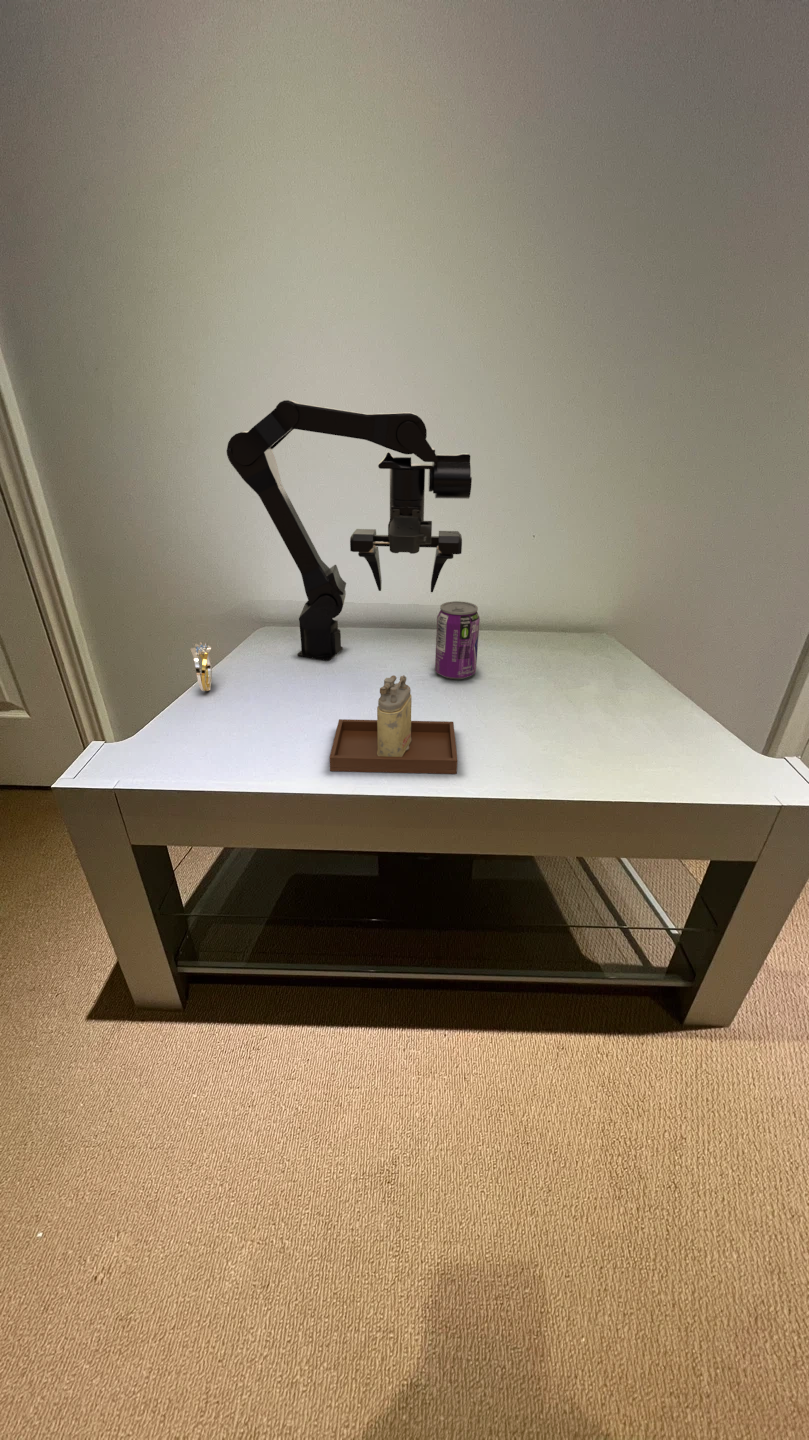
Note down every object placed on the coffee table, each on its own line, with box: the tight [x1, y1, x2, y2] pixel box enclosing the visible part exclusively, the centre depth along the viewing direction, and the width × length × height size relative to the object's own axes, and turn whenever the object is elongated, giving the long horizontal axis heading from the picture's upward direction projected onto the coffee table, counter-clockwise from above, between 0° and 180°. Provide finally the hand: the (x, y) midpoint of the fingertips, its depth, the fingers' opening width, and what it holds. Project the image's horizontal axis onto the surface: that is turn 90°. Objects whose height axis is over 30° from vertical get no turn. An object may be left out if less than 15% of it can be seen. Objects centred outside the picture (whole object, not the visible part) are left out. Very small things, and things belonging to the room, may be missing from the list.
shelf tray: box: [329, 718, 458, 775], centre depth 80 cm, size 16×10×2 cm, turn 89°
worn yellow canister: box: [376, 674, 413, 757], centre depth 78 cm, size 7×4×10 cm, turn 163°
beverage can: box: [434, 600, 481, 680], centre depth 100 cm, size 7×7×12 cm
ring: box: [190, 641, 213, 692], centre depth 94 cm, size 7×3×8 cm, turn 5°
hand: (405, 591), depth 105 cm, fingers open, 9 cm apart
